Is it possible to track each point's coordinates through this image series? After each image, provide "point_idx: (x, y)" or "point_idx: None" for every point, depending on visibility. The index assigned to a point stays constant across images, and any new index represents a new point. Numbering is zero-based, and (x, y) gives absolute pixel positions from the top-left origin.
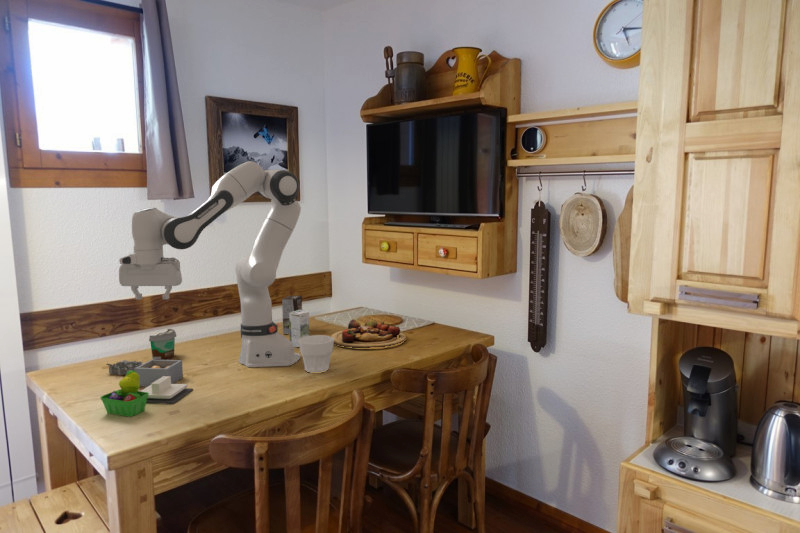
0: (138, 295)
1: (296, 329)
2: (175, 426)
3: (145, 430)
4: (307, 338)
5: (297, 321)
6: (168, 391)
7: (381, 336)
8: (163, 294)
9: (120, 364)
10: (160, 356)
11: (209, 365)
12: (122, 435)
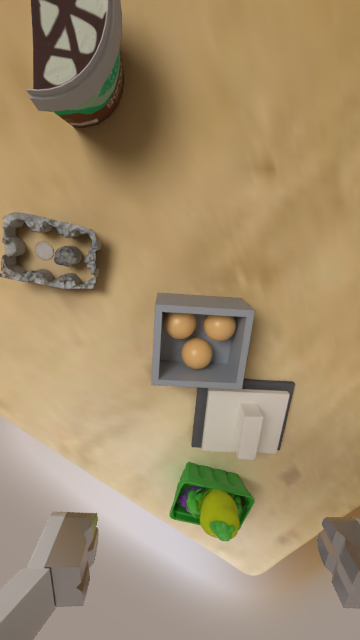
0: (78, 592)
1: None
2: (309, 518)
3: (270, 530)
4: None
5: None
6: (263, 434)
7: None
8: (356, 607)
9: (16, 223)
10: (95, 118)
11: (282, 182)
12: (244, 543)
